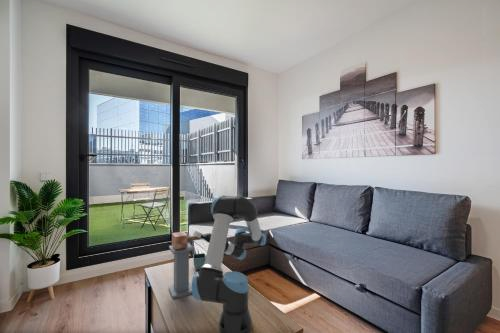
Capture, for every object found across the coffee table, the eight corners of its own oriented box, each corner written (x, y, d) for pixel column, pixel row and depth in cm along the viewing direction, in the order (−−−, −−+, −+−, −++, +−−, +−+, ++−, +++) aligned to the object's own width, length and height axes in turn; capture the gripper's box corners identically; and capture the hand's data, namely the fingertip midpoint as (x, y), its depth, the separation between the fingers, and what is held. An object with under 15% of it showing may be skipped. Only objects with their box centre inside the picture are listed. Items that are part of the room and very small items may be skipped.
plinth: (188, 284, 144) (188, 242, 144) (194, 293, 134) (194, 248, 134) (168, 289, 138) (168, 245, 138) (172, 299, 128) (173, 252, 128)
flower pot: (193, 271, 162) (193, 258, 162) (192, 266, 170) (193, 254, 170) (205, 270, 164) (205, 257, 164) (204, 265, 172) (205, 253, 173)
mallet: (208, 239, 149) (208, 228, 149) (213, 242, 141) (213, 231, 142) (171, 244, 138) (171, 233, 138) (175, 249, 130) (175, 236, 130)
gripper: (227, 256, 143) (196, 242, 133) (218, 248, 156) (188, 235, 146) (233, 244, 145) (202, 230, 135) (223, 238, 158) (194, 224, 148)
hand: (195, 233), depth 140 cm, fingers closed on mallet, 2 cm apart
